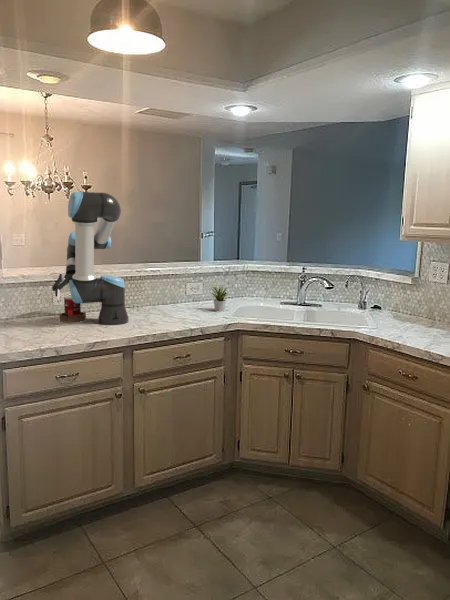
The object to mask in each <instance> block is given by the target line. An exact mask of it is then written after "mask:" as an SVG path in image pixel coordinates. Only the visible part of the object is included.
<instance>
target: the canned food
mask: <svg viewBox="0 0 450 600" xmlns="http://www.w3.org/2000/svg"><path fill="white" fill-rule="evenodd" d="M63 299H64V300H63V302H64V313H65V316H68V317H69V316H80V315H81V312H82V311H81V309H82V308H81V306H82V305H81V304H82V303H74V302H73V300H72V297H71V295H65V296H64V297H63Z"/></svg>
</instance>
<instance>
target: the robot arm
mask: <svg viewBox="0 0 450 600" xmlns="http://www.w3.org/2000/svg"><path fill="white" fill-rule="evenodd" d="M67 205H68V206H67V214H68V215H67V217H69V218H70V219H71V222H72V223H73V224H74V229H75V230H74V231H71V233H70V234H69V235H68V241H67V242H68V243H67V248H66V264H65V275H63V274H62V273H59V276H58V278H57V279H56V281H55V282H54V284H53V285H52V286H51V290H52V291H53V292H54V293H55V294H54V295H55V297H56V300H57V301H56V302H57V303H59V304H60V298H61V297H60V295H61V292H60V290H62V289H63V288H64V287H65V286H67V285H69V287H68V288H69V291H70V296H71V297H72V300H73V302H74V303H81V304H92V303H93V304H94V303H100V304H101V306H100V311H99V314H98V317H97V322H98V323H99V324H101V325H123V324H126V323H128V322H129V315H128V312H127V309H126V304H125V303H126V301H125V300H126V299H125V295H126V293H125V288H126V286H125V279H123V278H122V277H120V276H113V275H100V277H99V278H98V276H97V275H96V273H95V271H94V270H95V250H108V249H110V248H112V237H111V233H112V231H113V228H114V226H115V224H116V222H117V221H118V220H119V219H120V216H121V213H122V209H121V205H120V203H119V201H118V200H117V199H116V197H114V196H113V195H111V194H110V193H108V192H91V191H74V192H72V193H70V195H69V200H68V204H67ZM98 218H99V220H98ZM96 224H97V225H96ZM95 225H96V230H95ZM62 280H63V281H62Z"/></svg>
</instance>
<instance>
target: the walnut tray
mask: <svg viewBox="0 0 450 600" xmlns="http://www.w3.org/2000/svg"><path fill="white" fill-rule="evenodd" d="M86 320H87V314H86V312H84V311H81V315H80V316H69V317H68V316H65V312H61V313H59V321H60V322H61V323H69V324H70V323H73V324H74V323H80V322H85V321H86Z"/></svg>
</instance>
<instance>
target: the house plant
mask: <svg viewBox="0 0 450 600" xmlns="http://www.w3.org/2000/svg"><path fill="white" fill-rule="evenodd" d="M221 285H222V284H220V285H219V288H218V287H217V285H216V284H213V286H212V285H210V287H211V288H209V289H211V290H212V291H213V292H211V293H210V295H211V296H212V297H213V298H215V299H213V304H214V311H215V312H217V311H223V312H225V308H226V302H227V299H225V297H226V298H228V292H226V291H227V289H228V288H229V287H230V285H228V286H227V287H226V288H224V285H222V286H221ZM223 289H224V290H223Z"/></svg>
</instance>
